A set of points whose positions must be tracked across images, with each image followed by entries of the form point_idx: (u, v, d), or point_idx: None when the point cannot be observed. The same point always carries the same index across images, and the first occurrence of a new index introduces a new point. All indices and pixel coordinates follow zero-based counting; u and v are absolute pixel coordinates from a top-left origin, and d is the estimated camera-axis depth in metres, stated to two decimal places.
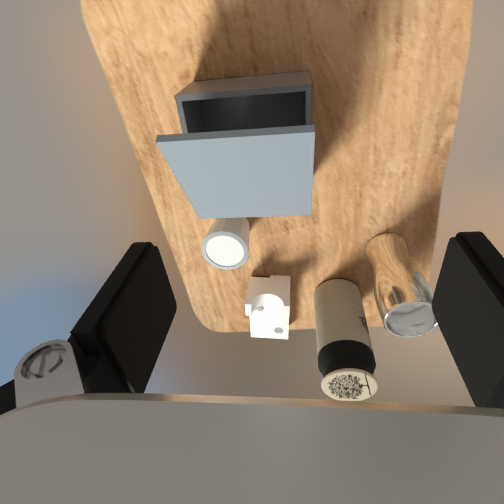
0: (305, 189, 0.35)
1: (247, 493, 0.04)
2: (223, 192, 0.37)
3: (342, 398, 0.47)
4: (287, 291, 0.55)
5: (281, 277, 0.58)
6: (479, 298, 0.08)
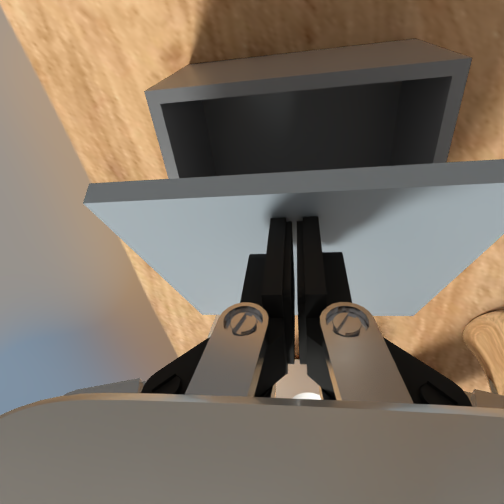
0: (429, 286, 0.16)
1: (247, 493, 0.04)
2: None
3: None
4: None
5: None
6: None
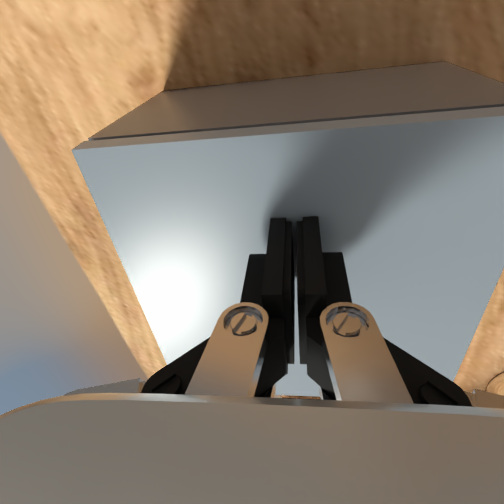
0: (456, 329, 0.14)
1: (247, 493, 0.04)
2: None
3: None
4: None
5: None
6: None
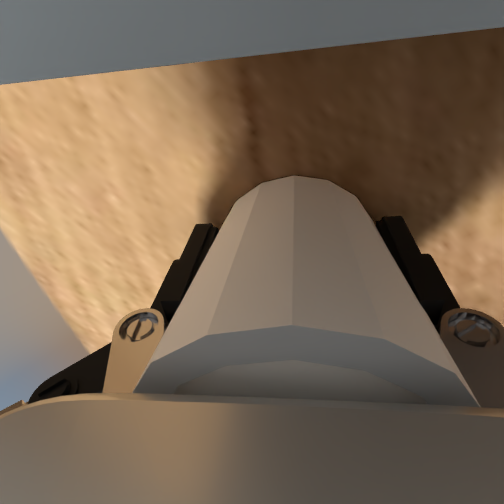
0: None
1: (247, 493, 0.04)
2: None
3: None
4: None
5: None
6: None
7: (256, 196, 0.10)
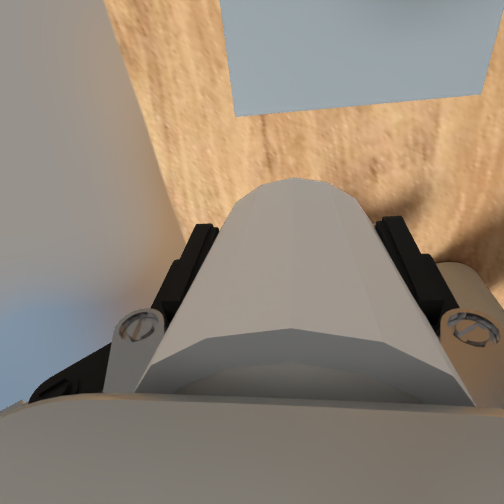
0: None
1: (247, 493, 0.04)
2: None
3: None
4: None
5: None
6: None
7: (256, 198, 0.10)
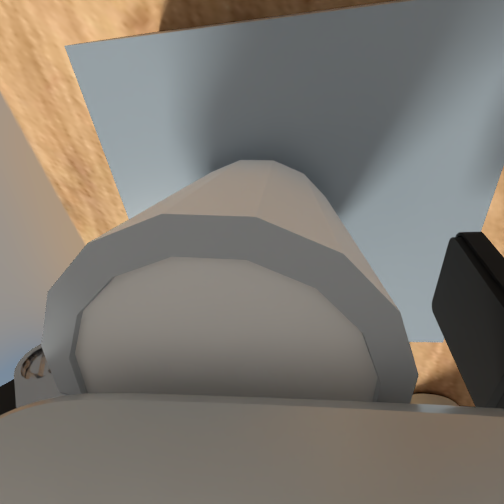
0: None
1: (247, 493, 0.04)
2: None
3: None
4: None
5: None
6: (479, 298, 0.08)
7: (200, 178, 0.10)
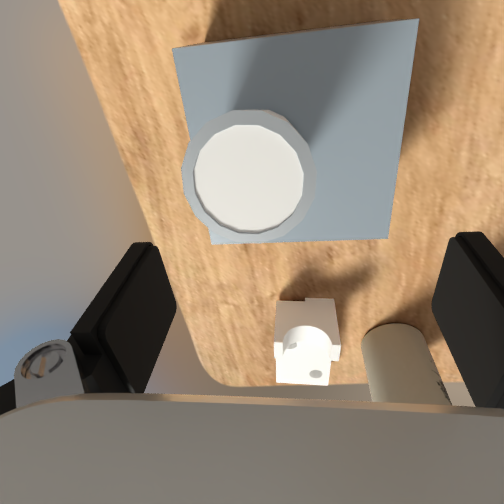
0: (386, 169, 0.23)
1: (247, 493, 0.04)
2: None
3: None
4: (333, 322, 0.38)
5: (321, 300, 0.41)
6: (479, 298, 0.08)
7: None
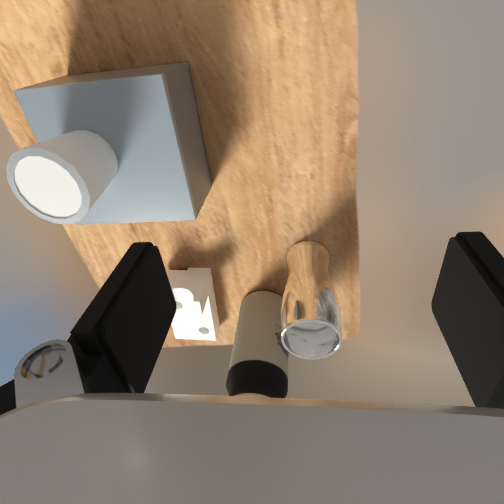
0: (176, 171, 0.33)
1: (247, 493, 0.04)
2: None
3: None
4: (201, 285, 0.48)
5: (199, 269, 0.51)
6: (479, 298, 0.08)
7: None
